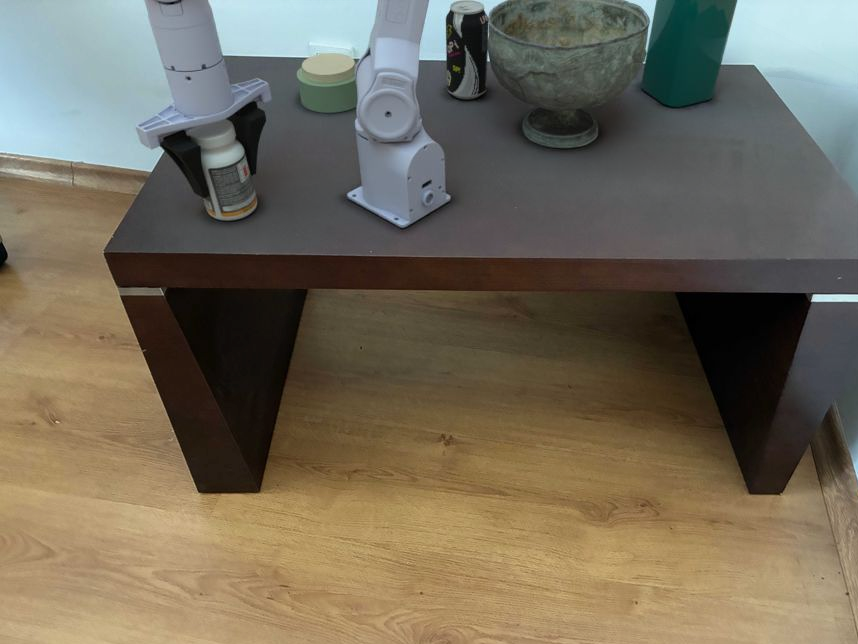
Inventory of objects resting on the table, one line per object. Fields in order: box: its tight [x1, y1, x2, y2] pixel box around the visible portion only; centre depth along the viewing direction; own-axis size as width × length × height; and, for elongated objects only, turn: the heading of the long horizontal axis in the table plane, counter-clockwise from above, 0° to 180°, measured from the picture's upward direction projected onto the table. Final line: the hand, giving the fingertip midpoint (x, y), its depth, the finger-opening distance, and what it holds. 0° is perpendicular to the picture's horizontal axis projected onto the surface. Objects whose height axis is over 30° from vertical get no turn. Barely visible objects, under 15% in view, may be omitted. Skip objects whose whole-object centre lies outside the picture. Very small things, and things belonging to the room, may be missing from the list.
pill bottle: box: [187, 119, 258, 222], centre depth 78 cm, size 6×6×10 cm
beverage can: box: [445, 0, 489, 100], centre depth 98 cm, size 6×6×12 cm
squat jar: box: [296, 52, 358, 114], centre depth 99 cm, size 9×9×5 cm
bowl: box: [487, 0, 651, 149], centre depth 90 cm, size 20×19×15 cm
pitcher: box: [640, 0, 739, 108], centre depth 94 cm, size 10×8×22 cm
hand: (226, 182), depth 79 cm, fingers closed on pill bottle, 5 cm apart
